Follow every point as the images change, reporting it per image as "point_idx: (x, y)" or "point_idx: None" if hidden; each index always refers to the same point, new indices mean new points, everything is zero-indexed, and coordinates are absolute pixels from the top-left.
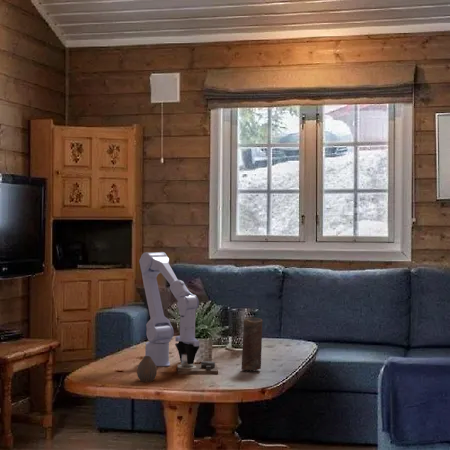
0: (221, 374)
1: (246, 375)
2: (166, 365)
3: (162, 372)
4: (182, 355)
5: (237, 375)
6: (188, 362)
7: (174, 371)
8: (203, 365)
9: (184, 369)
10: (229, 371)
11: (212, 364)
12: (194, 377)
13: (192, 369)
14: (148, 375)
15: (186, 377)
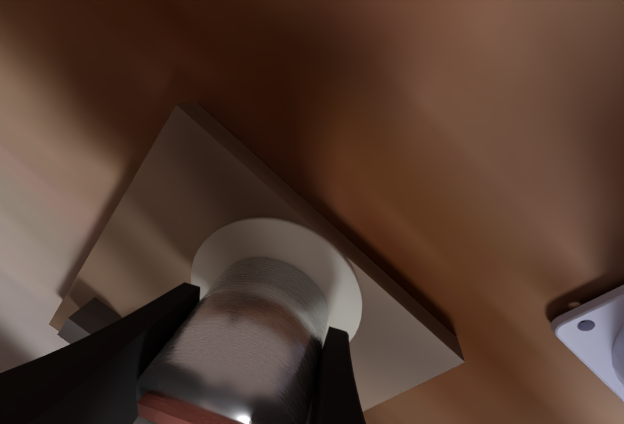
0: None
1: (2, 363)
2: (582, 310)
3: (368, 20)
4: (220, 356)
5: (11, 341)
6: (170, 291)
7: (322, 176)
8: None
9: (198, 206)
10: None
11: None
12: (3, 104)
13: (166, 254)
14: None
15: (17, 42)
